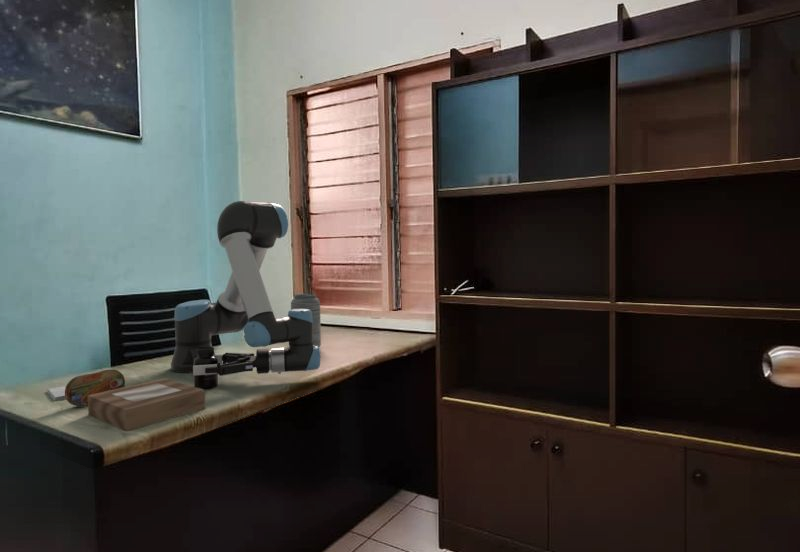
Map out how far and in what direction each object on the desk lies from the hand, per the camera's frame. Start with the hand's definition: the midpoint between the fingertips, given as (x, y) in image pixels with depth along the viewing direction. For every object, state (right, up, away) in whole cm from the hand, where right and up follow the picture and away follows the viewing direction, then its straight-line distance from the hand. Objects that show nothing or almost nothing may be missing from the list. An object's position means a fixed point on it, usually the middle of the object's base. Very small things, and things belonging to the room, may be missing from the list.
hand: (196, 365), depth 151 cm
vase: (+23, -4, +53) cm, 58 cm away
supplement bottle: (+3, -7, +1) cm, 8 cm away
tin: (-23, -8, -13) cm, 27 cm away
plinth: (-4, -8, -21) cm, 23 cm away
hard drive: (-36, -8, -4) cm, 37 cm away
